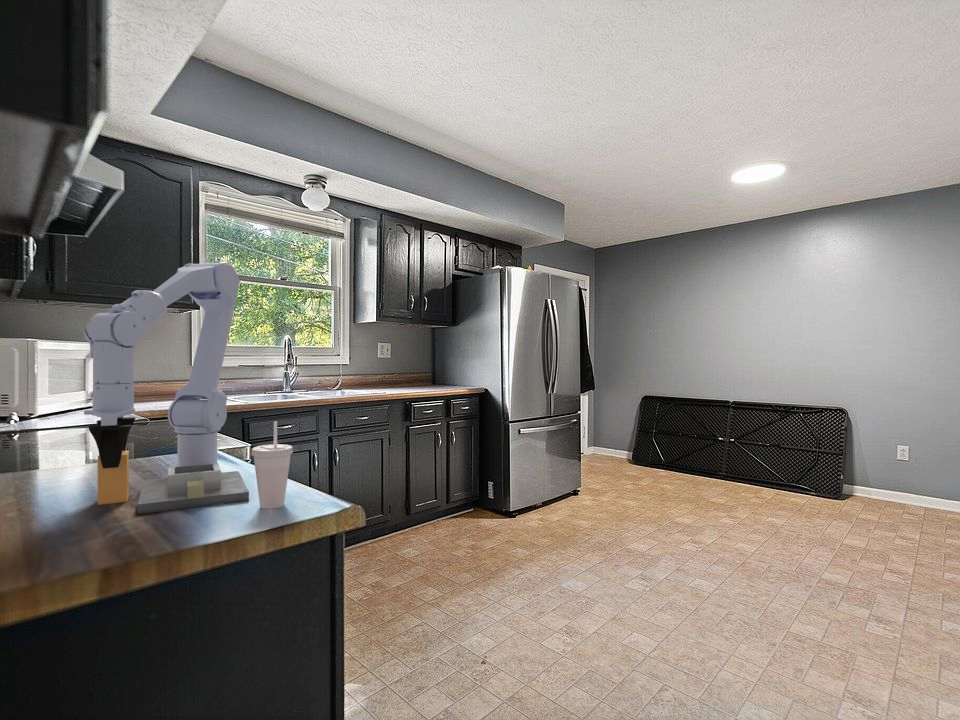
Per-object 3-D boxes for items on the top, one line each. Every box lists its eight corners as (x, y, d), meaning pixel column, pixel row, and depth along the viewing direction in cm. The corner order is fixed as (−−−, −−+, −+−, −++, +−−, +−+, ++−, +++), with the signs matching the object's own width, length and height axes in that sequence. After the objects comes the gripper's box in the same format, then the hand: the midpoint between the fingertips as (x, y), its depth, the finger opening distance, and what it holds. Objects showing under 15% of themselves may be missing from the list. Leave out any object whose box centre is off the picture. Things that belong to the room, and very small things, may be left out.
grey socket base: (143, 487, 98) (143, 463, 98) (238, 478, 106) (238, 456, 106) (137, 514, 82) (137, 485, 82) (248, 500, 90) (249, 474, 90)
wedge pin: (100, 498, 90) (100, 452, 90) (128, 496, 92) (128, 450, 92) (97, 504, 87) (97, 456, 87) (126, 501, 89) (126, 454, 89)
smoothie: (278, 512, 83) (278, 424, 83) (242, 510, 85) (242, 423, 85) (300, 501, 90) (300, 419, 90) (266, 499, 91) (266, 418, 91)
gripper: (90, 381, 94) (90, 457, 94) (77, 386, 81) (76, 474, 81) (137, 381, 97) (137, 454, 97) (132, 385, 85) (131, 469, 85)
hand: (113, 463), depth 90 cm, fingers open, 7 cm apart
